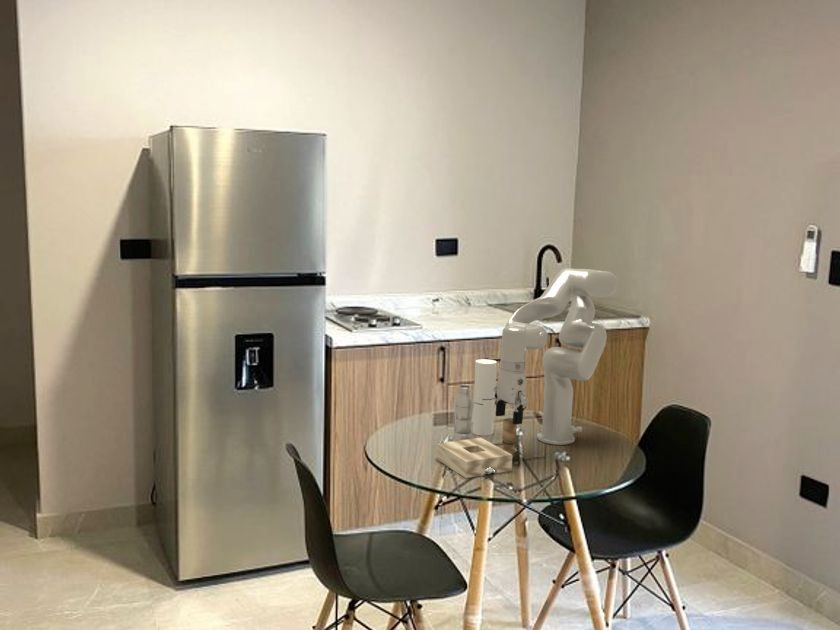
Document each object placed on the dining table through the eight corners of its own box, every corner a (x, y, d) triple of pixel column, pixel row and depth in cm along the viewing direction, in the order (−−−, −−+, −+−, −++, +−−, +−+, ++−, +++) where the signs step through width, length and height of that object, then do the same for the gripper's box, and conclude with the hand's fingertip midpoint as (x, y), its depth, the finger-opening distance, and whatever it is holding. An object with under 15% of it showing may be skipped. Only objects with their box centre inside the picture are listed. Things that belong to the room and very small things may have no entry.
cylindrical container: (493, 436, 290) (497, 364, 286) (472, 435, 291) (476, 363, 286) (492, 429, 297) (495, 359, 293) (472, 428, 298) (475, 358, 293)
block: (480, 452, 273) (481, 437, 272) (511, 470, 257) (512, 454, 256) (436, 459, 265) (436, 443, 265) (465, 478, 250) (466, 461, 249)
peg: (510, 454, 272) (512, 417, 270) (517, 458, 269) (519, 421, 267) (498, 455, 270) (500, 419, 268) (506, 460, 267) (508, 423, 265)
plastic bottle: (456, 449, 275) (458, 389, 271) (449, 443, 281) (452, 384, 278) (475, 448, 277) (477, 388, 273) (468, 442, 283) (470, 383, 280)
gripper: (538, 371, 258) (534, 426, 261) (507, 360, 274) (503, 411, 276) (517, 372, 255) (514, 428, 258) (487, 361, 270) (483, 413, 273)
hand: (508, 419), depth 267 cm, fingers open, 9 cm apart
